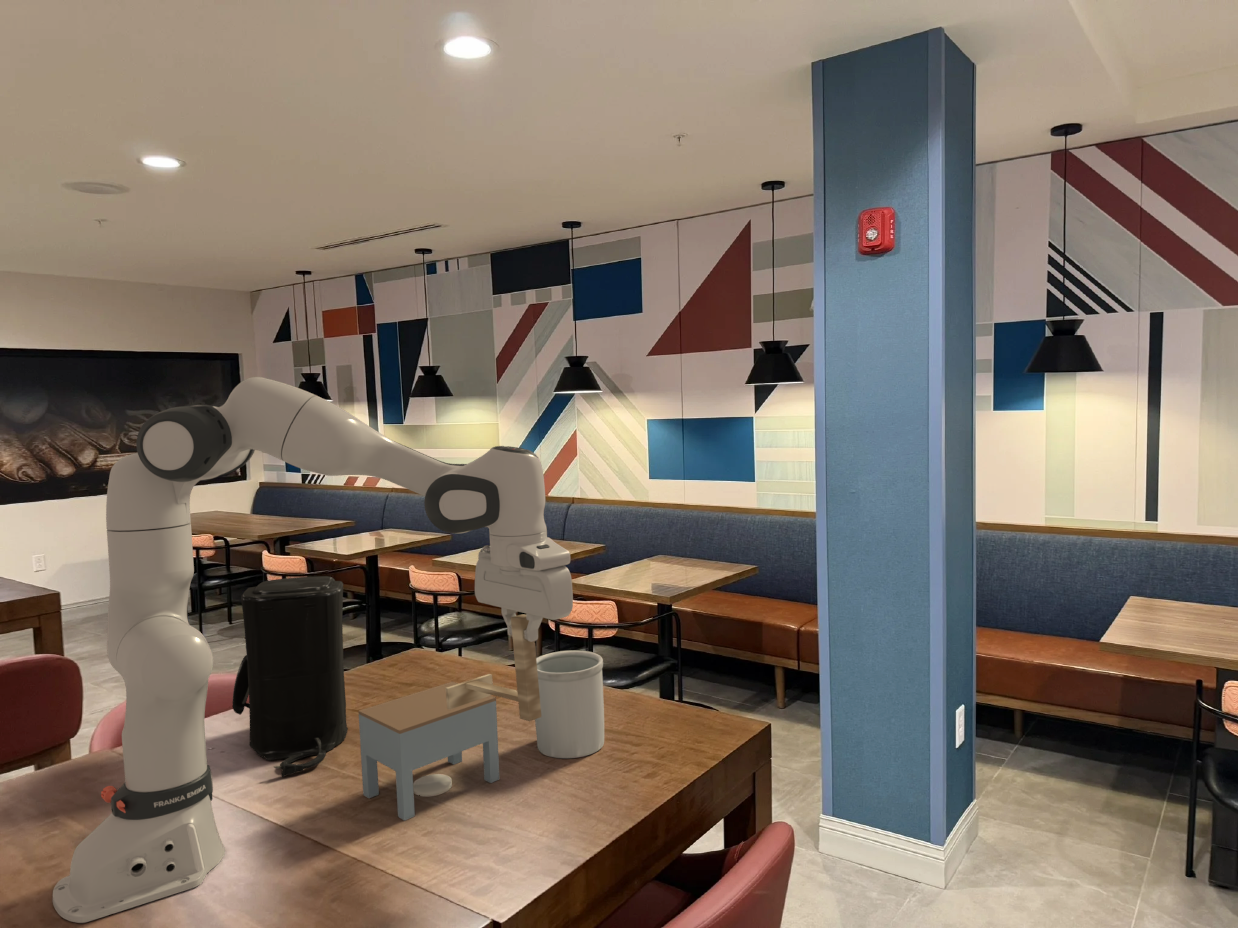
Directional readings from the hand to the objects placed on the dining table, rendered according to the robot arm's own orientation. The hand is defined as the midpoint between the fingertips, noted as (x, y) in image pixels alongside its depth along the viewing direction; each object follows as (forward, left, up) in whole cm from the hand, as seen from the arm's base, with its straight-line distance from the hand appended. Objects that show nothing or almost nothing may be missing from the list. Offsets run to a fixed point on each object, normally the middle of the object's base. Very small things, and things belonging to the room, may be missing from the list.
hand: (522, 638), depth 127 cm
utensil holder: (+29, +23, -33) cm, 50 cm away
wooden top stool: (0, +28, -33) cm, 43 cm away
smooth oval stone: (0, +28, -33) cm, 44 cm away
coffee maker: (-9, +70, -33) cm, 78 cm away
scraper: (0, +7, -13) cm, 15 cm away
